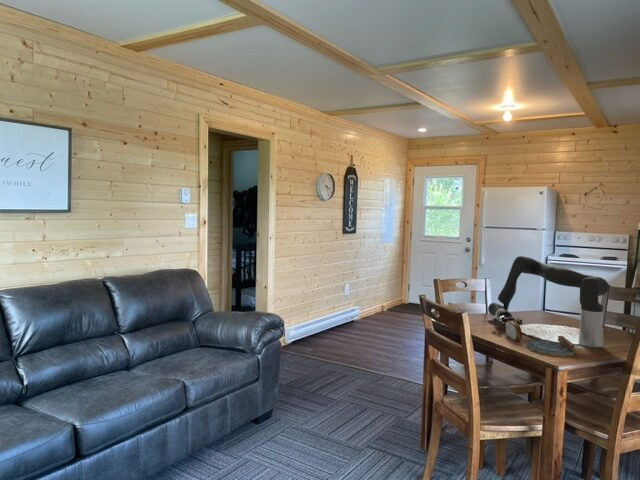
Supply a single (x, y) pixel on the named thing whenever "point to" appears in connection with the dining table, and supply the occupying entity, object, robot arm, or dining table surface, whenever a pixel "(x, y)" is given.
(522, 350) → the dining table surface
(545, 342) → the decorative tile
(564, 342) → the walnut stop strip
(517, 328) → the tin
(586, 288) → the robot arm
